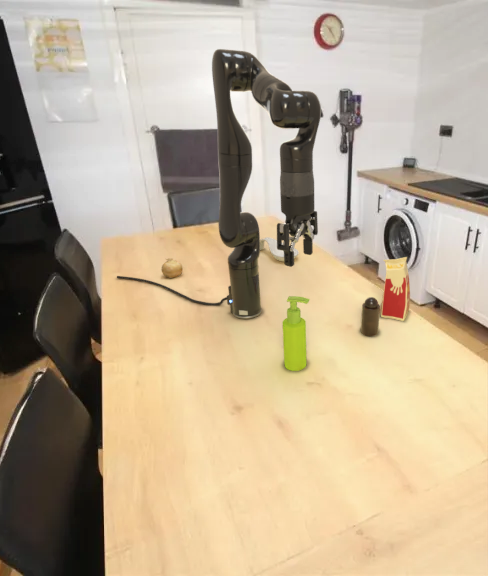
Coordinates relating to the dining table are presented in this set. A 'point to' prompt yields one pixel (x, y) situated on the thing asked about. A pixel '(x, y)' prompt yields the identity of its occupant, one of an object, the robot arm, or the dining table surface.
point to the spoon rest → (275, 249)
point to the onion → (171, 268)
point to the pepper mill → (370, 317)
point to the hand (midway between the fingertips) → (299, 259)
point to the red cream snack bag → (396, 290)
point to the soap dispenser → (294, 336)
